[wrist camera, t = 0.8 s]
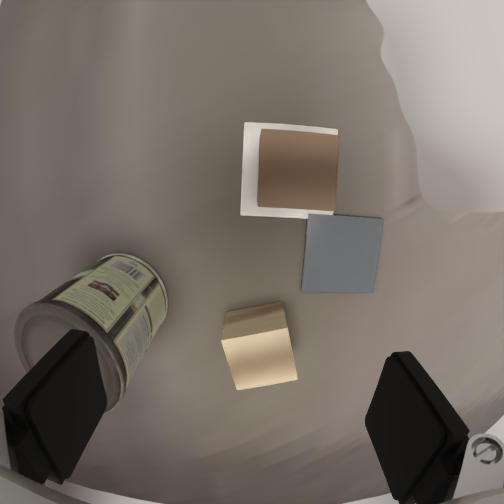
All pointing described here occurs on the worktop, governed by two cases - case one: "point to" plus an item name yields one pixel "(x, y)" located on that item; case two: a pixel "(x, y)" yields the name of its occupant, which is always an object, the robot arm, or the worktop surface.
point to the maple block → (258, 346)
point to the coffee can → (99, 318)
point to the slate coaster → (341, 253)
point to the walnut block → (297, 170)
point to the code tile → (251, 171)
